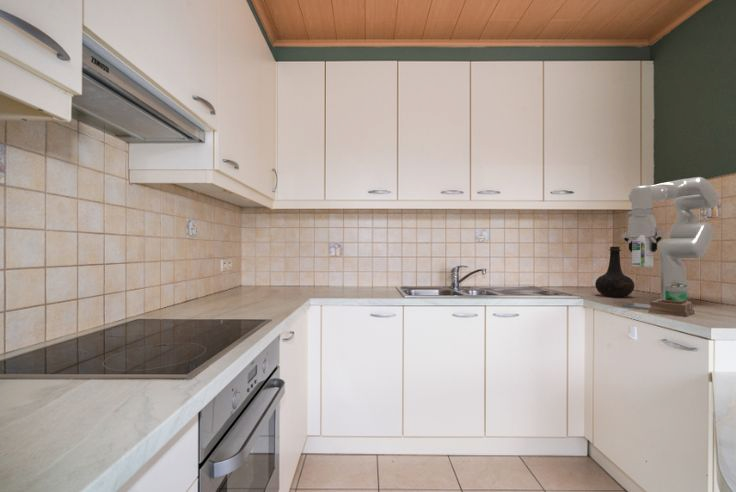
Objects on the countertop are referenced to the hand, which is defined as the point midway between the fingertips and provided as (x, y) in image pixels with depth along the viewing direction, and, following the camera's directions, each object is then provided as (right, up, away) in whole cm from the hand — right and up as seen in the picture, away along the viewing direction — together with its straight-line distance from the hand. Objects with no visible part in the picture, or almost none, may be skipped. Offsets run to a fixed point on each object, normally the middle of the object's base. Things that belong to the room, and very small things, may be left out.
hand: (642, 251), depth 161 cm
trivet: (0, -25, +1) cm, 25 cm away
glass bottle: (+12, -26, +36) cm, 46 cm away
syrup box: (0, -7, 0) cm, 7 cm away
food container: (+18, -26, +1) cm, 31 cm away
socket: (+1, -25, -14) cm, 29 cm away
